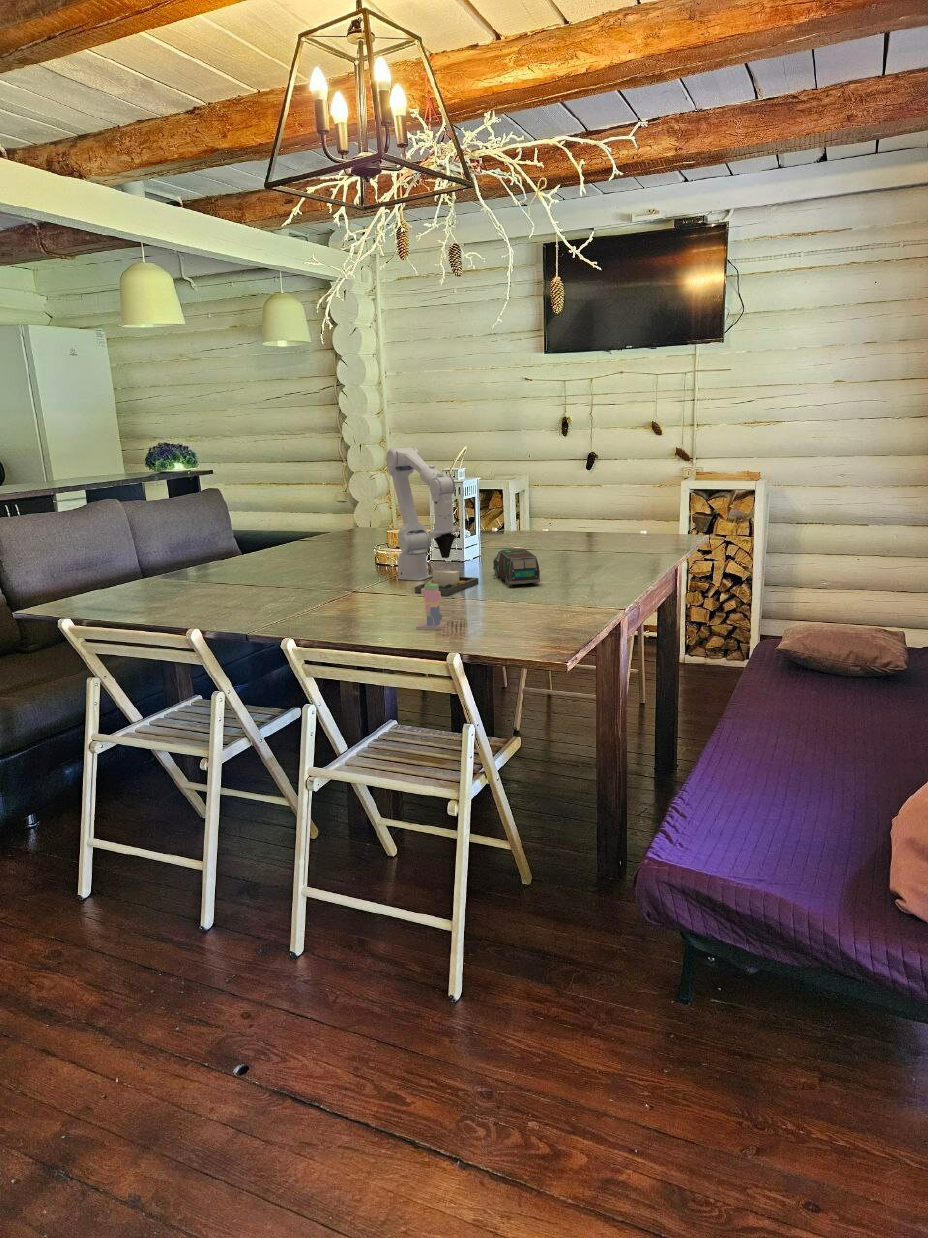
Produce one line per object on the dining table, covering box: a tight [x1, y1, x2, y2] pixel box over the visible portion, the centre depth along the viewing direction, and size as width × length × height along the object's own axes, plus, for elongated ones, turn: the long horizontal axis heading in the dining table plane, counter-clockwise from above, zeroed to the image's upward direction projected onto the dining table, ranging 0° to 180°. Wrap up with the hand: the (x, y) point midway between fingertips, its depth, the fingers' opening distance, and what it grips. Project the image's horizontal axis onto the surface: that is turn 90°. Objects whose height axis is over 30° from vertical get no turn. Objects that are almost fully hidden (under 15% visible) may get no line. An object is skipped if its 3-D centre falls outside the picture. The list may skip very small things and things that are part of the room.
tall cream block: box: [432, 569, 460, 585], centre depth 269 cm, size 8×3×5 cm, turn 59°
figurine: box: [415, 580, 448, 631], centre depth 222 cm, size 7×6×12 cm
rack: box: [414, 576, 480, 597], centre depth 269 cm, size 12×19×3 cm, turn 149°
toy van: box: [492, 548, 541, 587], centre depth 277 cm, size 11×25×10 cm, turn 10°
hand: (445, 557), depth 271 cm, fingers closed
